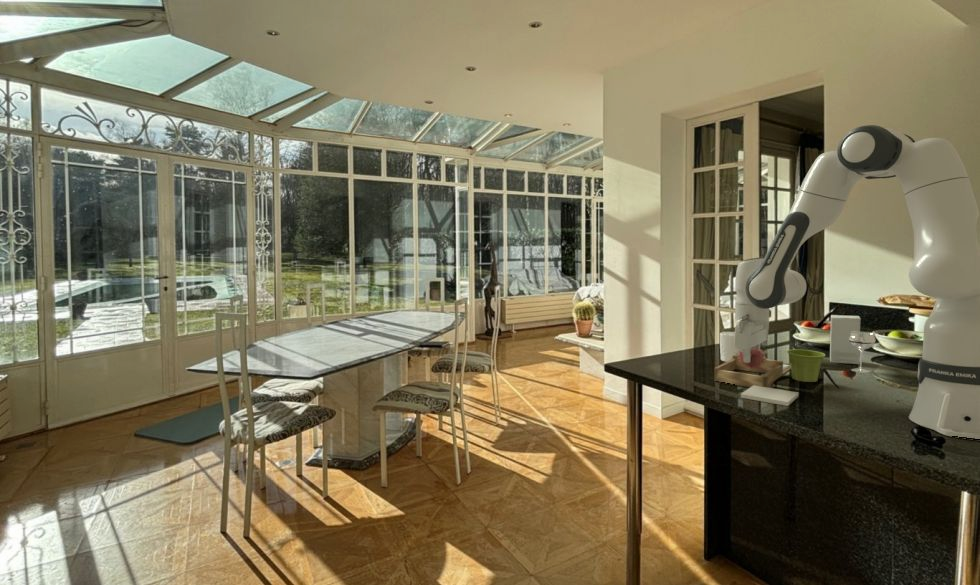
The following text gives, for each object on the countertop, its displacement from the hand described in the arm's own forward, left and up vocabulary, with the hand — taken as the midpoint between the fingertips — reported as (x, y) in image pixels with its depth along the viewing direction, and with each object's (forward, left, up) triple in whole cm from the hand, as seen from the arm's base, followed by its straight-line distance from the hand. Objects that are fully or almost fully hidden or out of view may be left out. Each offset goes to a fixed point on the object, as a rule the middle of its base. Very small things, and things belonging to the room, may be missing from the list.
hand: (751, 360), depth 152 cm
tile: (-9, +15, -6) cm, 18 cm away
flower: (0, 0, -3) cm, 3 cm away
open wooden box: (+1, 0, -6) cm, 6 cm away
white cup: (+12, -20, -6) cm, 24 cm away
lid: (+1, -17, -6) cm, 18 cm away
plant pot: (-12, -8, -6) cm, 16 cm away
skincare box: (-16, -45, -6) cm, 48 cm away
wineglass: (-22, -34, -6) cm, 41 cm away
